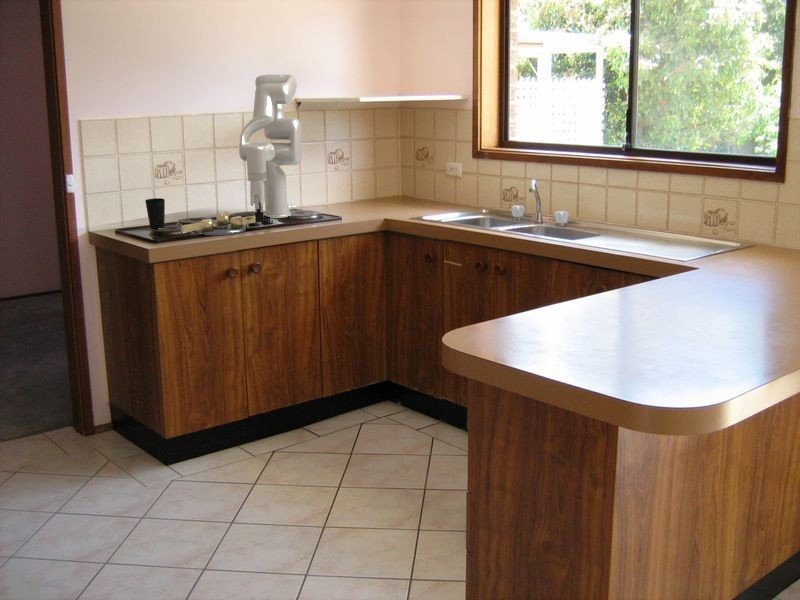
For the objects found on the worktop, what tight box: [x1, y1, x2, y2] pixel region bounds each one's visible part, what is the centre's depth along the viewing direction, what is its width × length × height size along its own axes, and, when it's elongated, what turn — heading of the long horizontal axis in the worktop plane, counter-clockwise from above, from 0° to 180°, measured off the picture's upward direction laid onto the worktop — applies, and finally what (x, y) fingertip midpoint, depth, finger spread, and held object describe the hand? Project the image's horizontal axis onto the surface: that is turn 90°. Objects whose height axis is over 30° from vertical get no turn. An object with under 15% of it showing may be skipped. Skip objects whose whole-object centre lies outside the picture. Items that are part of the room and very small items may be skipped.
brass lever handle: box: [229, 215, 257, 228], centre depth 366 cm, size 14×5×4 cm, turn 134°
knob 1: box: [216, 210, 230, 225], centre depth 373 cm, size 14×5×4 cm, turn 3°
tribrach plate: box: [195, 222, 247, 237], centre depth 363 cm, size 20×20×3 cm
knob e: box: [180, 218, 214, 233], centre depth 355 cm, size 14×5×4 cm, turn 138°
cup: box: [144, 197, 166, 230], centre depth 368 cm, size 8×8×12 cm
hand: (259, 221), depth 365 cm, fingers closed
